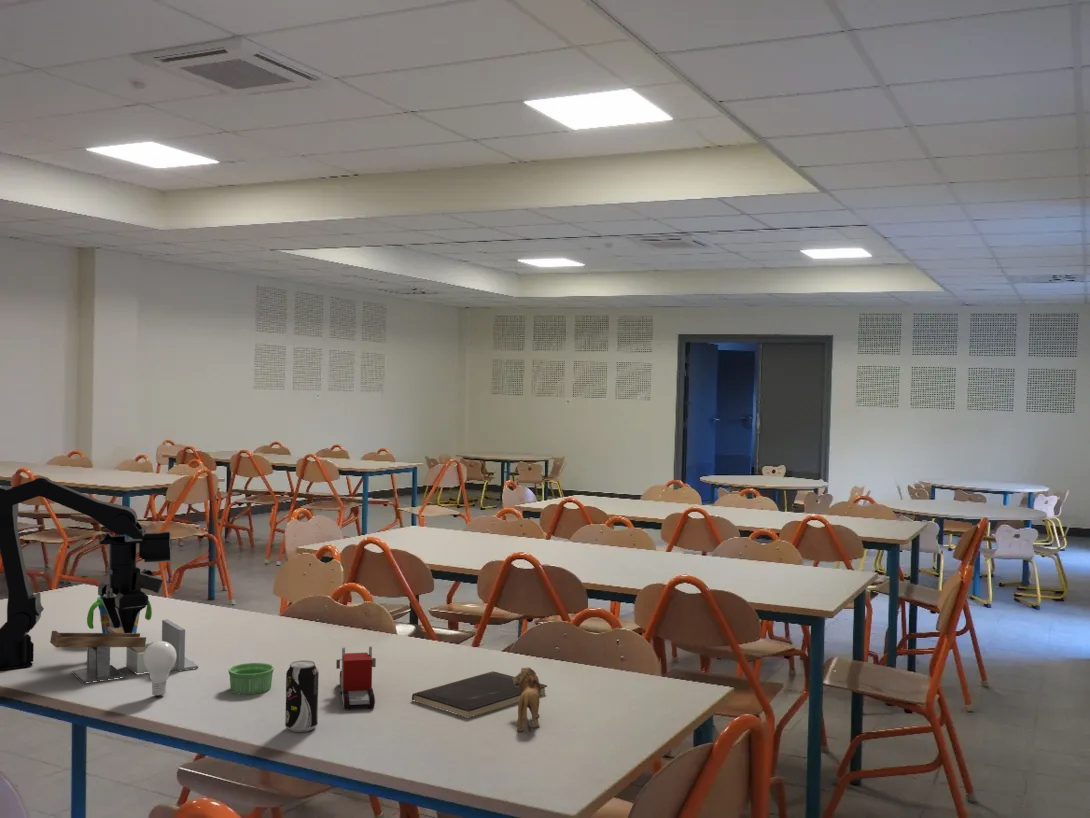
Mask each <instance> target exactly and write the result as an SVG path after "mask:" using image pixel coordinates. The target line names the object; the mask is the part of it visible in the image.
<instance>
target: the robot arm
mask: <svg viewBox="0 0 1090 818" xmlns="http://www.w3.org/2000/svg"><path fill="white" fill-rule="evenodd" d="M38 497H41V498H45V499H47V500H49V501H51V502H55V503H57V504H58V505H61V506H64V507H66V508H69V509H71V510H73V511H76V512H77V513H80V514H83V515H86V516H88V517H90V518H92V519H93V520H95V521H96V522H97V523H98V524H100V525H101V526H103V527H105V529H108V530H109V531H111V532H112V533H114V534H115V535H112V534H111V532H107V533H106V535H105V537H103V538H102V539H100V541H99V545H103V546H104V545H109V547H108V550H109V551H108V552H109V553H108V554H109V556H108V566H106V573H108V581H104V582H101V583H100V584H99V585H98V586H97V596H98V597H100V596H102V597H100V599H101V601H102V603H103V605H104V607H105V609H106V611H107V614H108V616H109V618H110V620H111V622H112V624H113V627H114V628H119V627H120V623H121V625H122V628H123V631H124V633H132V630H133V627H134V624H135V620H136V617H137V614H138V613H139V612H140V613H141V611H142V610H143V609H146V608H147V605H148V600H149V595H147V594H146V593H145V592H144V591H142V589H143V590H148V591H151V592H153V593H157V594H159V593H160V590H161V587H162V584H163V582H164V579H162V578H160V577H158V576H156V575H154V574H153V573H154V572H153V571H152V570H151V569H146V568H144V569H143V570H142V571H141V569H140V568H139V567H138V566H137V544H139V545H138V555H139V556H138V557H139V559H141V560H143V561H144V563H161V562H162V563H165V562H172V561H171V560H172V544H171V531H167V530H166V531H162V532H147V531H146V530H145V528H143V526H142V525H141V523H139V522H138V515H137V512H136V511H135V510H134V509H133V508H132V507H129V506H125V505H123V504H122V505H121V504H117V503H112V502H106V501H103V500H98V499H96V498H94V497H91V496H89V495H87V494H85V493H82V492H80V491H77V490H75V489H73V488H70V487H67V486H65V485H63V484H61V483H59V482H56V481H53V480H52V479H50V478H49V477H47V476H39V477H37V478H35V479H34V480H29V481H26V482H24V483H21V484H18V485H14V486H8V485H0V558H1V562H2V567H3V572H4V577H5V582H6V587H7V592H8V594H7V603H6V622H4V624H3V625H1V627H0V671H5V670H12V669H19V668H26V667H27V668H28V667H32V666H33V662H34V649H35V648H34V643H33V641H32V636H31V635H30V634H29V632H30V631H31V630H33V629H34V628H35V626H36V625H37V623H39V620H40V619H41V618H42V612H43V611H44V607H43V605H42V602H41V599H42V597H41V592H40V591H39V592H37V593H34V592H33V591H32V589H31V587H30V585H29V584H30V583H29V580H28V575H27V569H26V565H25V559H24V554H23V549H22V545H21V539H20V533H19V529H18V517H19V504H21V503H23V502H27V501H29V500H31V499H34V498H38ZM127 537H129V538H127ZM130 538H131V539H130Z"/></svg>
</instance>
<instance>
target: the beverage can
mask: <svg viewBox="0 0 1090 818" xmlns="http://www.w3.org/2000/svg"><path fill="white" fill-rule="evenodd" d="M319 674H320V673H319V670H318V668H317V667H316V662H315V661H314V660H296V661H292V662H290V663H289V668H288V669H287V671H286V673H285V677H286V678H285V716H284V717H285V721H284V722H285V724H284V725H285V727H286V729H288V730H289V731H291V732H292V733H293V732H294V733H305V732H310V731H312V730H314V729H315V728H316V727H317V726H318V721H319V720H318V719H319V715H318V714H319Z"/></svg>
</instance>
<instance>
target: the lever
mask: <svg viewBox="0 0 1090 818" xmlns="http://www.w3.org/2000/svg"><path fill="white" fill-rule="evenodd" d="M107 631H109V632H110V633H102V632H58V631H57V630H51V635H50V640H49V641H50V642H49V643H50V644H52V646H53V647H55V648H87V647H98V646H106V645H110V648H127V647H145V644H147V643H146V642H147V637H145V636H141V633H139V632H136V633H124V631H123V628H122V627H119V628H114V627H108V629H107Z"/></svg>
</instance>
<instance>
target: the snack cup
mask: <svg viewBox="0 0 1090 818" xmlns="http://www.w3.org/2000/svg"><path fill="white" fill-rule="evenodd" d="M100 597H102V596H97V599H96V601H95V602H93V603H92V604H91V606H90V608H89V609H88V612H87V618H86V624H87V626H88V628H89V629H94V614H95V613H94V611H95V610H96V608H97V607H98V611H99V618H100V625H101V633H110V632H109V631H107V629H108V627H113V624H112V622H111V620H110V618H109V616H108V614H107V611H106V609H105V607H104V605H103V603H102V601H101V599H100ZM151 604H152V603H151V602H150V600H149V599H148V605H146V608H145V609H146V610H145V614H144V619H145V620H146V621H150V620H151V619H152V615H153V612H152V610H153V609H152V605H151ZM140 614H141V611H140V612H139V613H138V614H137V617H136V620H135V624H134V627H133V630H132V633H138V632H137V631H138V625H139V621H140ZM120 627H122V625H121V623H120Z"/></svg>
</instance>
